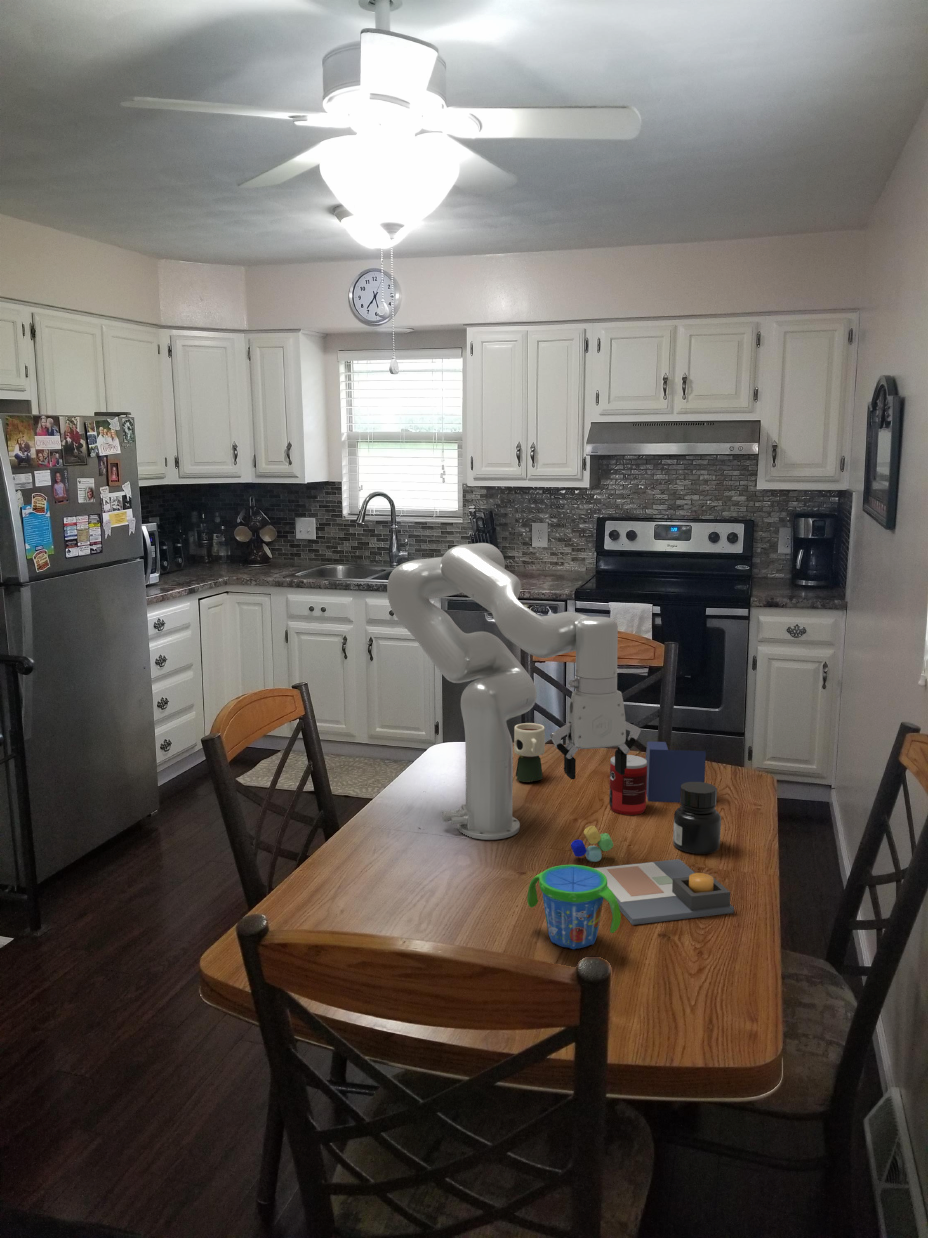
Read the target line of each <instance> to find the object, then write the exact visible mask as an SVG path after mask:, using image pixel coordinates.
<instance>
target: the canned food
mask: <svg viewBox="0 0 928 1238" xmlns="http://www.w3.org/2000/svg"><path fill="white" fill-rule="evenodd" d="M609 761H610V763H609V803H608V805H609V808H610V810H611V812H612V811H613V812H614V813H616V814H618V815H619V814H620V815H623V816H624V815H625V816H636V815H641V814H643V813H644V812H645V810H646V807H647V795H646V789H647V760H646V759H645V758H644V757H642V756H638V755H632V754H627V768H626V769H625V775H621V774H619V773H618V772H617V771H615V755H614V756H612V757H610V760H609Z"/></svg>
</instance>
